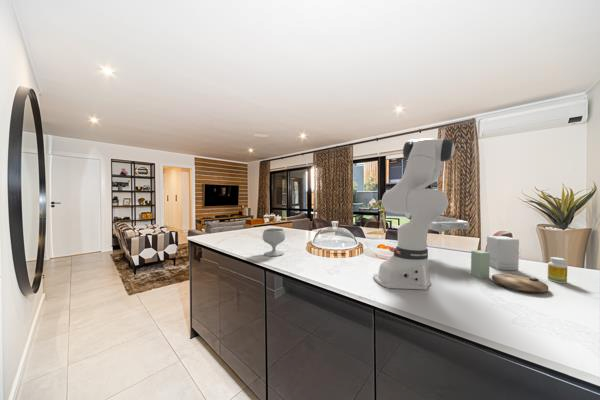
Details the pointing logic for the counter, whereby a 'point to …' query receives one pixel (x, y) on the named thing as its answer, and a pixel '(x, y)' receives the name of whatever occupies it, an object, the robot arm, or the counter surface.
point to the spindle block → (480, 263)
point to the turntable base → (519, 290)
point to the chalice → (274, 240)
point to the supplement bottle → (557, 270)
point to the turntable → (520, 282)
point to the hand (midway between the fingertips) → (459, 227)
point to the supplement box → (503, 252)
